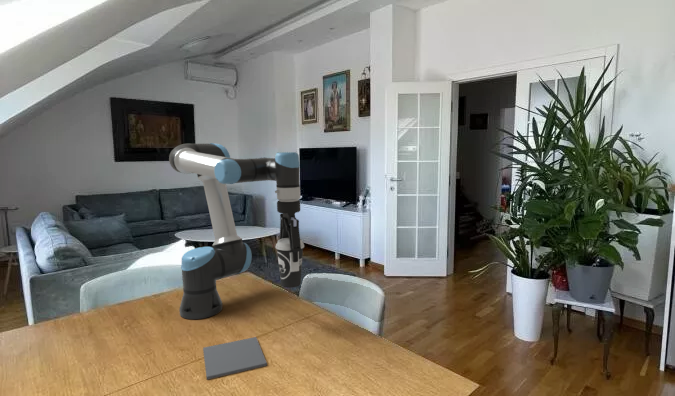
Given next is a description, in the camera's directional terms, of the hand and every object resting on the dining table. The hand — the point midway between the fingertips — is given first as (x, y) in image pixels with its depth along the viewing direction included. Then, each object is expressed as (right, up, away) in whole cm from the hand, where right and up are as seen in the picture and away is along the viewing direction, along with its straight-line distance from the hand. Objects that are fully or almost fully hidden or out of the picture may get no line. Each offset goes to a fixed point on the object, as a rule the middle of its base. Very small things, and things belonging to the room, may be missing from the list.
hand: (290, 266), depth 124 cm
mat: (-15, -24, -15) cm, 32 cm away
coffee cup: (0, -6, +1) cm, 6 cm away
